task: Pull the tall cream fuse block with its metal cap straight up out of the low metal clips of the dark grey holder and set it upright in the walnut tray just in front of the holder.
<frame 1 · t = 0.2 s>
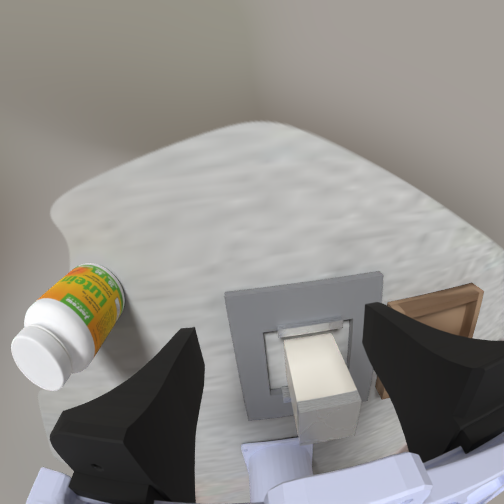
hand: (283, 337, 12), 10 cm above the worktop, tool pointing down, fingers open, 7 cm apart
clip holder: (308, 355, 24), on the worktop
tray: (425, 337, 25), on the worktop
supplement bottle: (97, 291, 22), on the worktop
fuse: (308, 354, 24), resting in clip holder
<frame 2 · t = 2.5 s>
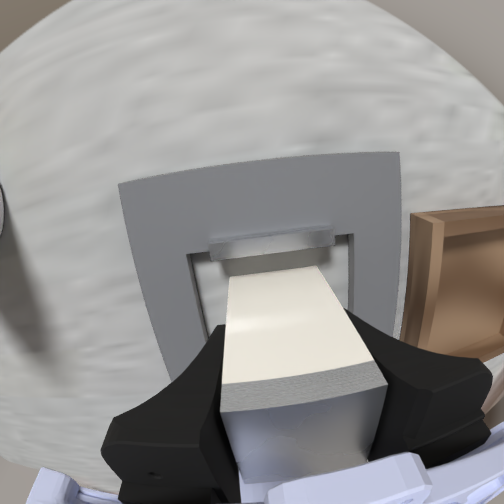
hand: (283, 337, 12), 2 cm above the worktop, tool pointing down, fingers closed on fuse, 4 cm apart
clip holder: (277, 309, 14), on the worktop
tray: (469, 288, 15), on the worktop
fuse: (277, 309, 14), resting in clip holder, touching gripper
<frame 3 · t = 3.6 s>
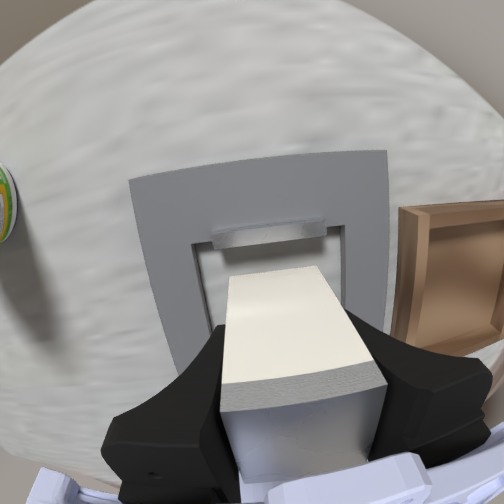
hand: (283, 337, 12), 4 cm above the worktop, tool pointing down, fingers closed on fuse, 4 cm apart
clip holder: (274, 296, 16), on the worktop
tray: (458, 279, 16), on the worktop
fuse: (276, 309, 14), point 1 cm above the worktop, touching gripper
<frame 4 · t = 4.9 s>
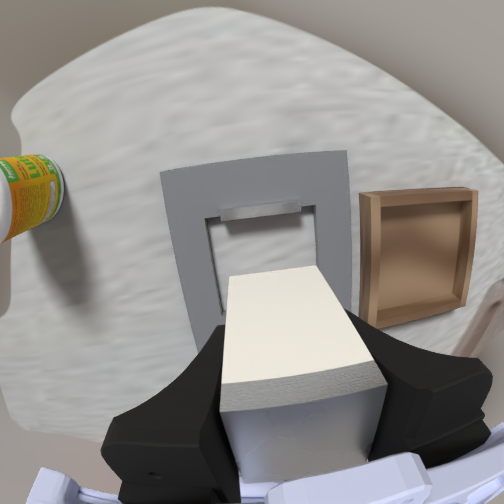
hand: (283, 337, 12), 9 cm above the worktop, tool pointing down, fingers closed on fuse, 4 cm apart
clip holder: (265, 259, 21), on the worktop
tray: (416, 251, 21), on the worktop
supplement bottle: (41, 187, 19), on the worktop
fuse: (276, 309, 14), point 7 cm above the worktop, touching gripper
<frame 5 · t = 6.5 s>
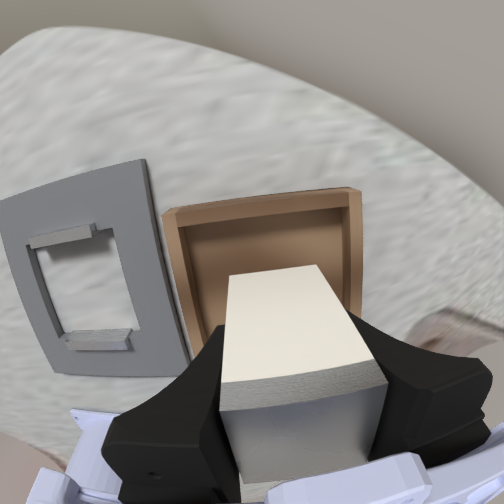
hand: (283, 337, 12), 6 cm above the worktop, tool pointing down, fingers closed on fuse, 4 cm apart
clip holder: (84, 285, 17), on the worktop
tray: (269, 280, 18), on the worktop
fuse: (276, 308, 14), point 4 cm above the worktop, touching gripper
when the fingers open (4 cm above the worktop, at t = 7.6 s): fuse drops 1 cm, resting on tray.
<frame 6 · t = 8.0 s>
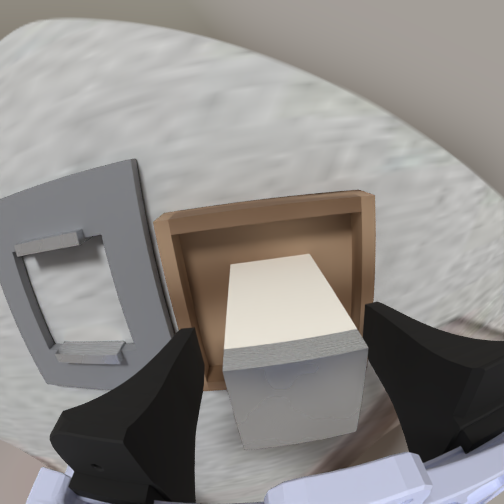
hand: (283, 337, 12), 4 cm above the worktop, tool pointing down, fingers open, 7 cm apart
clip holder: (74, 295, 16), on the worktop
tray: (273, 291, 16), on the worktop
fuse: (274, 294, 16), resting on tray
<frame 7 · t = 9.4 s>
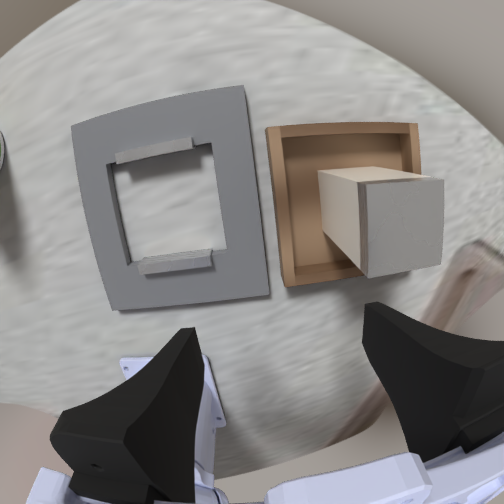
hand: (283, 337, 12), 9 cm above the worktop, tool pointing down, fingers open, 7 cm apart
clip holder: (167, 205, 19), on the worktop
tray: (346, 197, 20), on the worktop
fuse: (348, 197, 19), resting on tray
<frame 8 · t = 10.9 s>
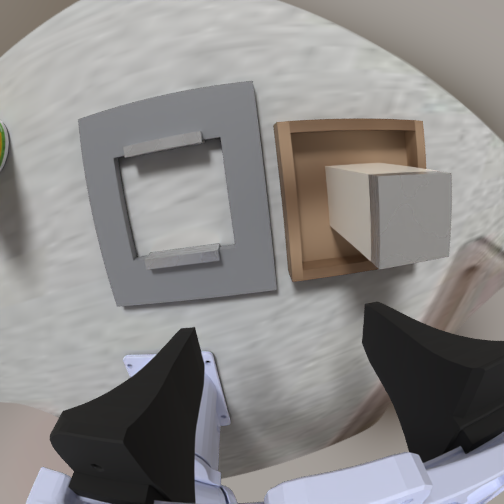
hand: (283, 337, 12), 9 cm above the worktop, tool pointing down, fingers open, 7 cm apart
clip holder: (175, 199, 19), on the worktop
tray: (352, 193, 20), on the worktop
fuse: (355, 193, 19), resting on tray
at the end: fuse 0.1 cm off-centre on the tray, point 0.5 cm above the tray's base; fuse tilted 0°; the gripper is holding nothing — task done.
